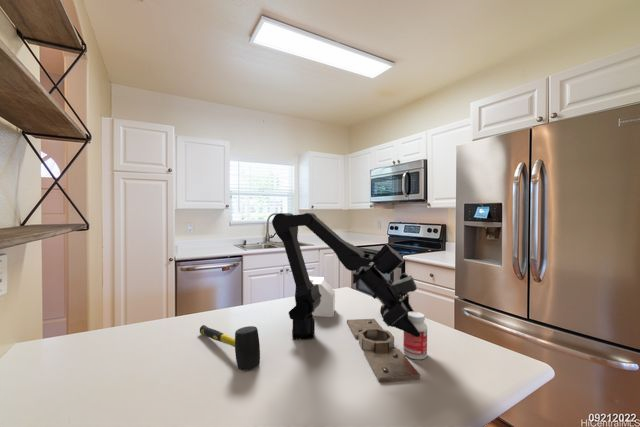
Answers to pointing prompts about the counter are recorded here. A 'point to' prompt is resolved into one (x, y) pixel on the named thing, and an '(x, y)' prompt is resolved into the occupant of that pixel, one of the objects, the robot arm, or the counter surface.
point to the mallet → (240, 345)
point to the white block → (324, 298)
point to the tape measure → (382, 310)
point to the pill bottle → (416, 338)
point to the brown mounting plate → (382, 352)
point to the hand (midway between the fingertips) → (418, 328)
